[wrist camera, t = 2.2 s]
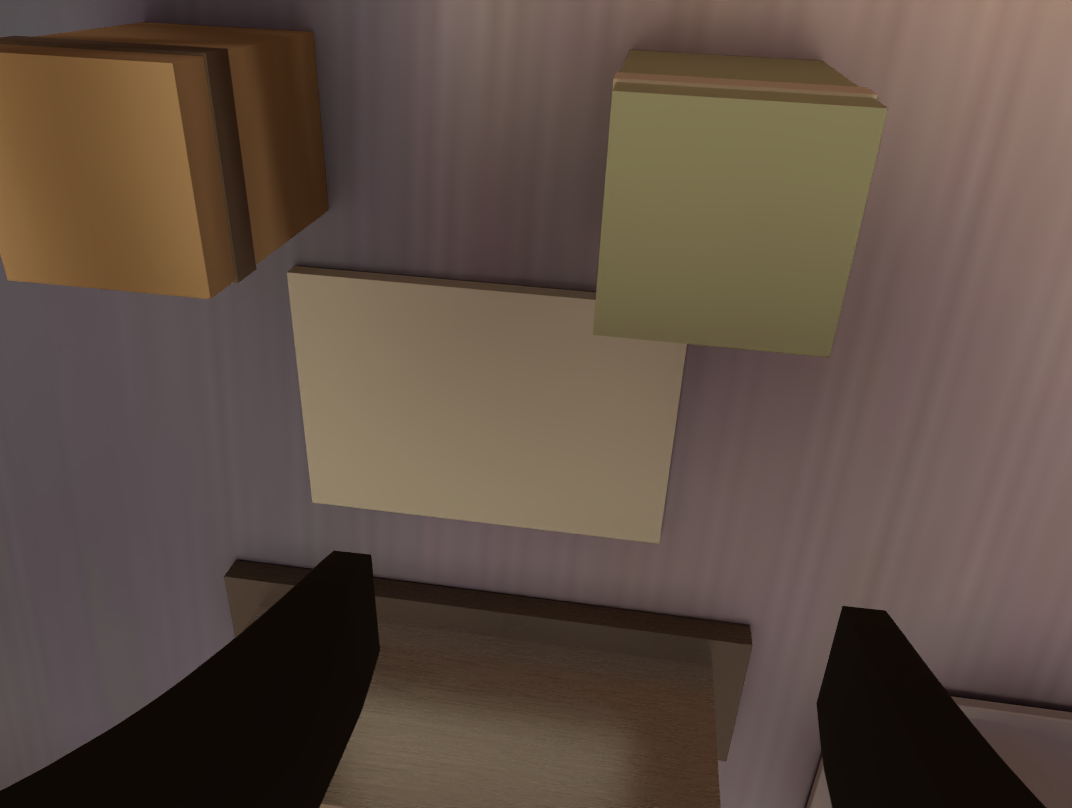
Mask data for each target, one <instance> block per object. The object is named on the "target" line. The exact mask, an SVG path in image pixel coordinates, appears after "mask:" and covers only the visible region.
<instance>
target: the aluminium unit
mask: <svg viewBox="0 0 1072 808" xmlns="http://www.w3.org/2000/svg"><path fill="white" fill-rule="evenodd" d="M310 571H311V570H310V569H303V568H295V567H287V566H279V565H271V564H264V563H256V562H248V561H240V560H235V562H234V563H233V565H232V566H231V567H230V569H229V570H228V572H227V573H226V574H225V576H224V579H225V584H226V590H227V595H228V601H229V606H230V612H231V617H232V622H233V628H234V633H235V638H236V637H237V636H238V635H239V634H240V633H242V632H243V631H244V630H245V629H246V628H247V627H248V626H250V625H251V624H252V623H253V622H254V621H255V620H257V619H258V618H259V617H260V616H261V615H262V614H264V613H265V612H266V611H267V610H268V609H269V608H270V607H272V606H273V605H274V604H275V603H276V602H277V601H278V600H279V599H280V598H282V597H283V596H284V595H285V594H286V593H287V592H288V591H289V590H290V589H292V588H293V587H294V586H295V585H296V584H297V583H298V582H299V581H300V580H301V579H303V578H304V577H305V576H306V575H307V574H308V573H309V572H310ZM373 580H374V591H375V601H376V612H377V622H378V633H379V643H380V652H379V656H378V659H377V663H376V666H375V670H374V673H373V677H372V680H371V683H370V687H369V690H368V693H367V696H366V699H365V702H364V706H363V709H362V712H361V714H360V716H359V719H358V721H357V723H356V726H355V728H354V730H353V733H352V735H351V737H350V739H349V742H348V744H347V746H346V749H345V751H344V753H343V756H342V758H341V760H340V762H339V765H338V767H337V769H336V771H335V774H334V776H333V778H332V780H331V783H330V785H329V787H328V789H327V792H326V794H325V796H324V798H323V801H322V803H321V805H320V807H319V808H721V807H720V790H719V772H718V760H721V761H726V760H727V756H728V752H729V747H730V743H731V738H732V734H733V729H734V725H735V720H736V716H737V711H738V707H739V703H740V698H741V694H742V689H743V685H744V680H745V676H746V671H747V667H748V662H749V658H750V653H751V649H752V638H751V630H750V626H749V625H741V624H733V623H725V622H717V621H709V620H702V619H694V618H686V617H678V616H670V615H662V614H655V613H647V612H639V611H631V610H623V609H616V608H608V607H600V606H592V605H584V604H576V603H569V602H561V601H553V600H545V599H537V598H530V597H522V596H514V595H506V594H498V593H490V592H483V591H475V590H467V589H459V588H451V587H443V586H436V585H428V584H420V583H412V582H404V581H397V580H389V579H381V578H373Z"/></svg>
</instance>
